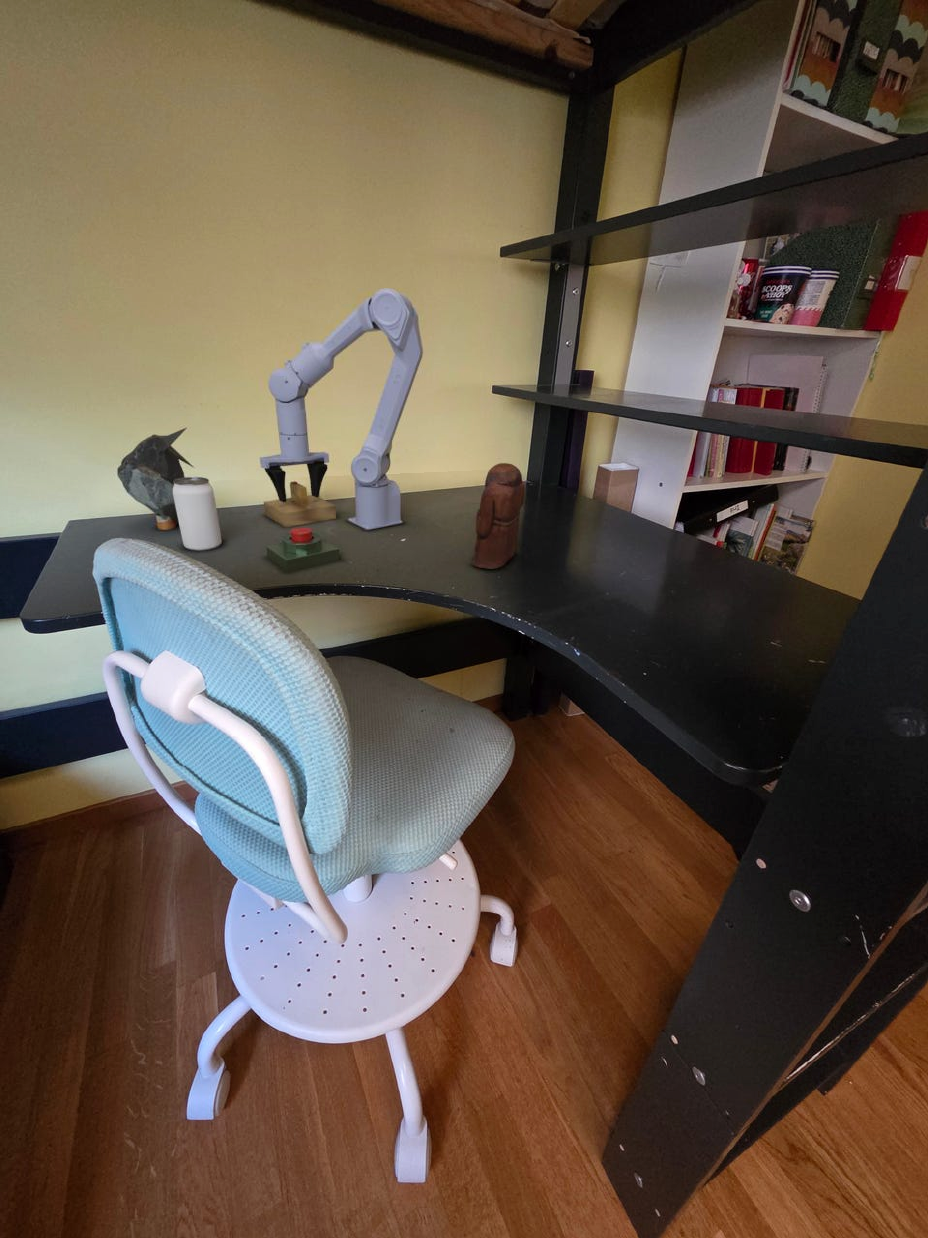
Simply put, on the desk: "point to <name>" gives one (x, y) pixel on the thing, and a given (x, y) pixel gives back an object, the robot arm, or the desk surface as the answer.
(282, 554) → the green button base
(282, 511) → the plate
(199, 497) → the can
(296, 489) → the lock knob
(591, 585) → the desk surface
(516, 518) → the wooden figurine
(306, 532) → the bell button
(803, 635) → the desk surface
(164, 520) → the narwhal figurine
